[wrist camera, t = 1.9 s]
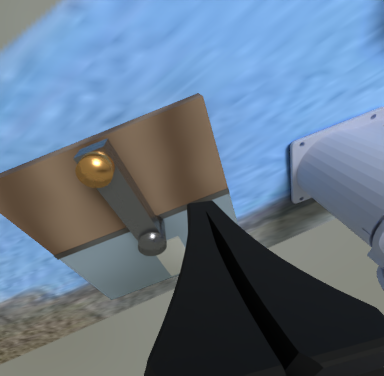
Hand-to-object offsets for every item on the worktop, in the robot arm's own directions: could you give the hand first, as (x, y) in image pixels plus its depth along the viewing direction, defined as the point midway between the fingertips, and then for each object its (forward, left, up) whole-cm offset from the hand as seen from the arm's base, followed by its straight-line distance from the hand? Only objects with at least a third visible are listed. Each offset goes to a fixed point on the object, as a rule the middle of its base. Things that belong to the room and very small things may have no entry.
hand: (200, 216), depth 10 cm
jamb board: (+6, 0, -8) cm, 10 cm away
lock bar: (+5, +1, -7) cm, 8 cm away
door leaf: (+6, +10, -8) cm, 14 cm away
